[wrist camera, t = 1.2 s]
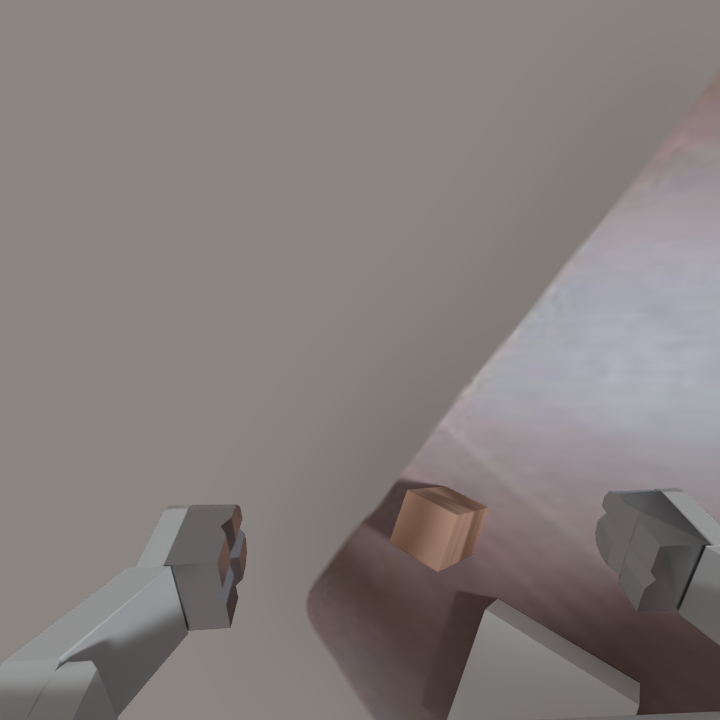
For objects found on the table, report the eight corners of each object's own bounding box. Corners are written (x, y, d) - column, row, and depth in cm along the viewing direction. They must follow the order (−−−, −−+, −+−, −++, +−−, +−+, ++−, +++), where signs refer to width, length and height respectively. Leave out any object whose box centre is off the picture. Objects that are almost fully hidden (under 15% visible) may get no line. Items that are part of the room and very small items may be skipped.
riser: (640, 683, 36) (639, 705, 33) (591, 826, 36) (585, 862, 33) (497, 598, 43) (485, 609, 39) (456, 718, 43) (440, 739, 39)
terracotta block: (489, 507, 45) (457, 515, 37) (472, 554, 45) (437, 572, 37) (444, 486, 48) (407, 489, 40) (429, 530, 48) (389, 542, 40)
